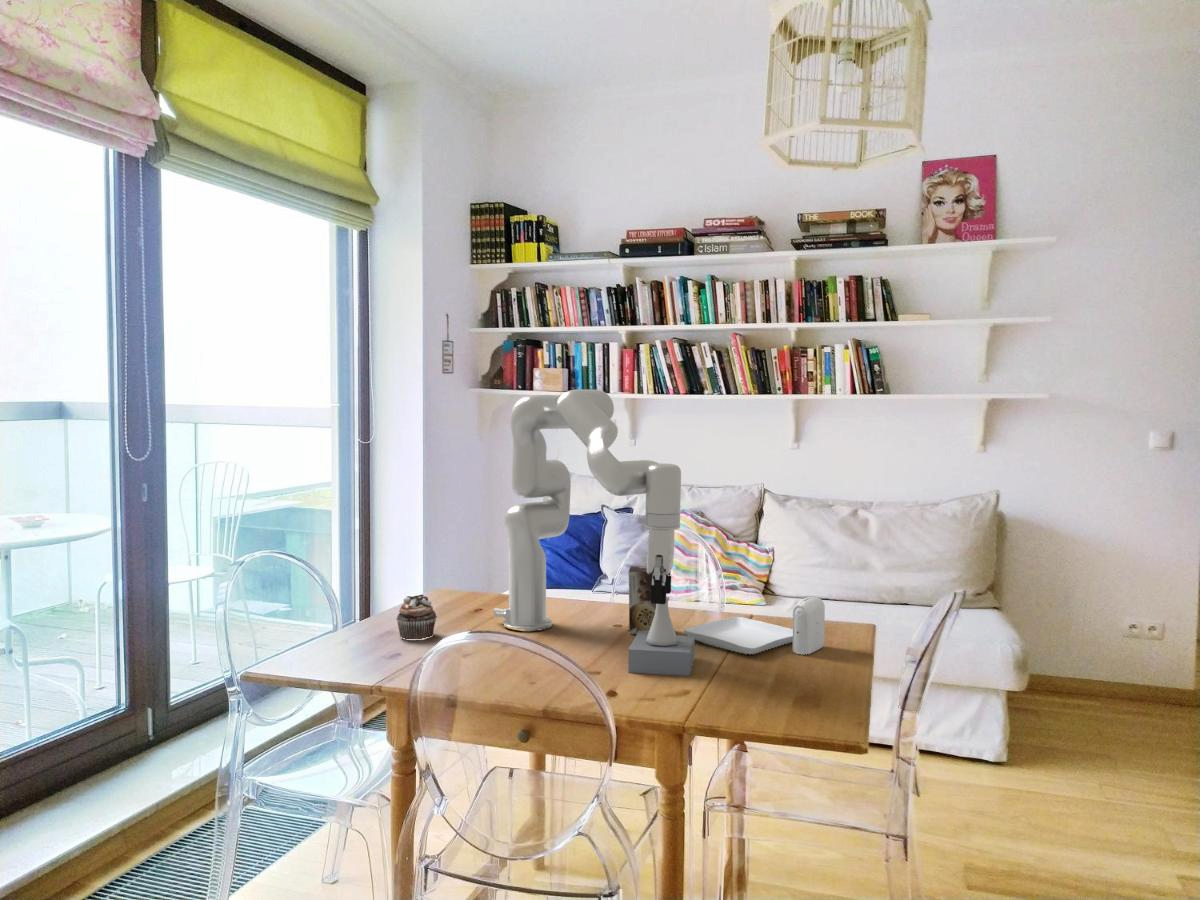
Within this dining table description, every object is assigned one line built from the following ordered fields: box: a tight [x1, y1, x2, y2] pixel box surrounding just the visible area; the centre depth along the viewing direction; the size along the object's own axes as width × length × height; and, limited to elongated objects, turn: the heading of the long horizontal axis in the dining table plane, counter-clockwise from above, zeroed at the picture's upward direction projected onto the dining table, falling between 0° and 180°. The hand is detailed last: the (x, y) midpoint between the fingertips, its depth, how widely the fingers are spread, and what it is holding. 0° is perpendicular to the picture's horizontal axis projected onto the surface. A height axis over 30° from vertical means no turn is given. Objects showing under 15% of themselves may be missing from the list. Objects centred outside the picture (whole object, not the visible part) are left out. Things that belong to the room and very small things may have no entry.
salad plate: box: [682, 616, 793, 656], centre depth 213 cm, size 21×21×3 cm
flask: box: [646, 595, 678, 646], centre depth 194 cm, size 7×7×10 cm
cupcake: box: [396, 594, 437, 639], centre depth 217 cm, size 10×10×10 cm
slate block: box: [627, 634, 696, 677], centre depth 194 cm, size 13×13×5 cm
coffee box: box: [628, 565, 656, 635], centre depth 222 cm, size 9×6×16 cm
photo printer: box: [792, 596, 826, 656], centre depth 206 cm, size 10×4×12 cm, turn 141°
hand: (661, 598), depth 194 cm, fingers open, 9 cm apart
